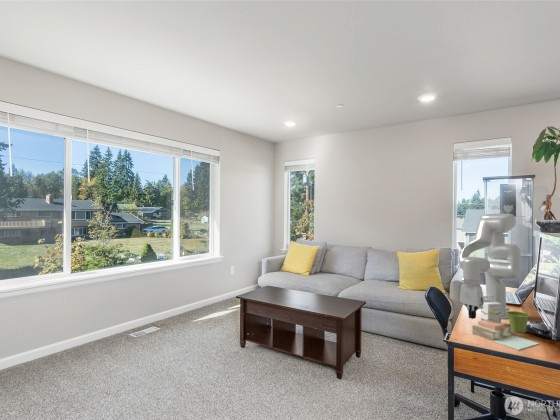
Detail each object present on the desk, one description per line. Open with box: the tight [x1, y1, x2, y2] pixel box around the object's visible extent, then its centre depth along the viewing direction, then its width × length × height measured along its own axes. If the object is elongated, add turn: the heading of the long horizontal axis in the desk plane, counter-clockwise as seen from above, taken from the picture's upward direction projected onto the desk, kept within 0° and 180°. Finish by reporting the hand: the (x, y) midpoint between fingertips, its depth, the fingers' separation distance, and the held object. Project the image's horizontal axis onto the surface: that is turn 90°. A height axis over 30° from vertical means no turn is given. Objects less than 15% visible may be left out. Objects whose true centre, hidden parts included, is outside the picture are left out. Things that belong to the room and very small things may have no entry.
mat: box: [492, 335, 540, 351], centre depth 142 cm, size 16×10×1 cm, turn 114°
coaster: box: [477, 319, 506, 331], centre depth 152 cm, size 8×8×2 cm
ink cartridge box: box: [480, 295, 502, 323], centre depth 167 cm, size 9×5×15 cm, turn 102°
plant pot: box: [506, 310, 530, 333], centre depth 157 cm, size 9×9×9 cm
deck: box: [471, 324, 513, 342], centre depth 152 cm, size 14×10×4 cm
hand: (472, 318), depth 160 cm, fingers closed
